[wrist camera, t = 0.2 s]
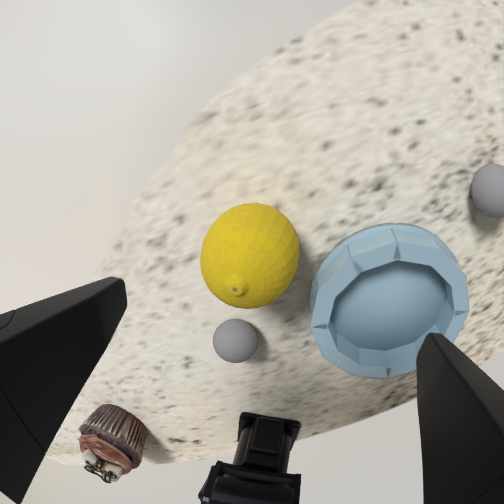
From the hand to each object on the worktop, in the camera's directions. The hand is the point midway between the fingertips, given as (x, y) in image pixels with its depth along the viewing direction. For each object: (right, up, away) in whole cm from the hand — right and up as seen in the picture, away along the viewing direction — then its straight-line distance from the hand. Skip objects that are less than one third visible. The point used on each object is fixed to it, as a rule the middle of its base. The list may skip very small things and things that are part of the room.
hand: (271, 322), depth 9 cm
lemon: (0, +4, +14) cm, 14 cm away
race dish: (+10, -2, +14) cm, 17 cm away
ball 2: (+15, +7, +9) cm, 19 cm away
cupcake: (-19, -22, +31) cm, 42 cm away
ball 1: (-1, -4, +18) cm, 18 cm away
